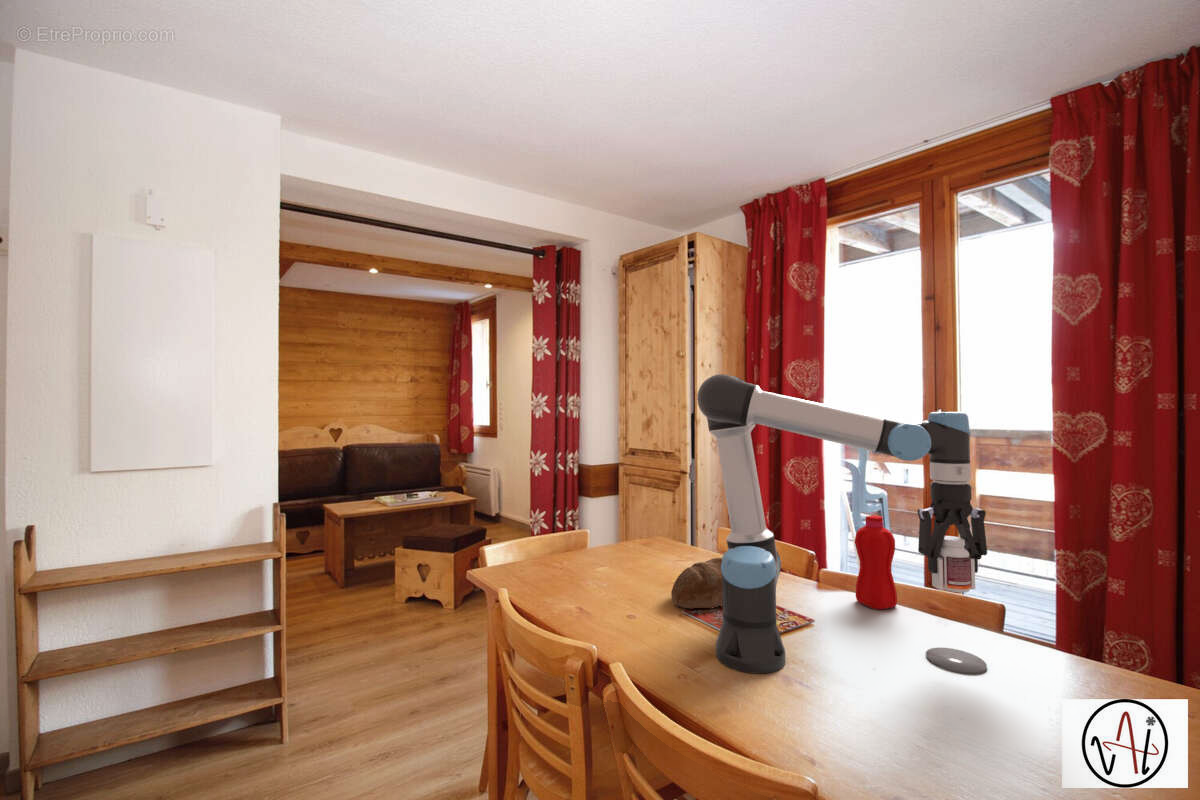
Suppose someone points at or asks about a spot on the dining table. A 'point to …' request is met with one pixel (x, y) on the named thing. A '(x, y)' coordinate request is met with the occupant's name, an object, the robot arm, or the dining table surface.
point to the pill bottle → (955, 565)
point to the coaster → (956, 660)
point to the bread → (699, 585)
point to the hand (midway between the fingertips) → (953, 587)
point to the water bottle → (875, 565)
